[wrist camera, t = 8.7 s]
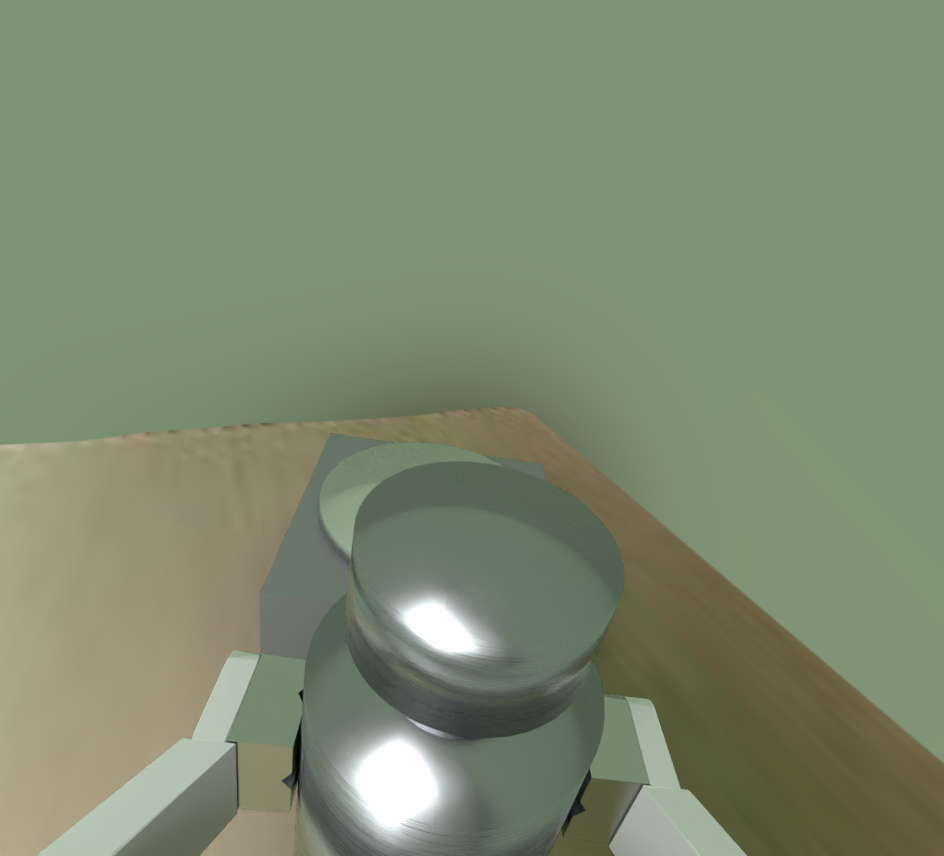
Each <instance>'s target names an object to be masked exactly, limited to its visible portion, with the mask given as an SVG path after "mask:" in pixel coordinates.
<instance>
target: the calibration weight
mask: <svg viewBox="0 0 944 856" xmlns="http://www.w3.org/2000/svg"><path fill="white" fill-rule="evenodd" d="M623 585H624V564H623V561H622V557H621V553H620V551H619V549H618V546H617V544H616V542H615V540H614V539H613V537H612V535H611V534H610V532H609V531H608V529H607V528H606V527H605V526H604V524H603V523H602V522H601V521H600V519H599V518H598V517H597V516H596V515H595V514H594V513H593V512H592V511H591V510H589V509H588V508H587V507H586V506H585V505H583V504H582V503H581V502H580V501H578V500H577V499H575V498H574V497H573V496H571V495H570V494H568V493H567V492H565V491H563V490H561V489H560V488H558V487H556V486H554V485H552V484H550V483H548V482H546V481H544V480H542V479H540V478H537V477H535V476H532V475H530V474H527V473H524V472H521V471H518V470H515V469H511V468H507V467H503V466H498V465H492V464H487V463H478V462H465V461H450V462H437V463H429V464H425V465H420V466H416V467H412V468H409V469H406V470H403V471H401V472H399V473H396V474H394V475H392V476H390V477H389V478H387V479H385V480H384V481H382V482H381V483H380V484H378V485H377V486H376V487H375V488H373V489H372V491H371V492H370V493H369V494H368V495H367V496H366V497H365V499H364V500H363V502H362V504H361V505H360V507H359V510H358V512H357V515H356V518H355V524H354V531H353V540H352V550H351V560H350V570H349V580H348V590H347V593H345V594H344V595H343V596H342V597H341V598H340V599H339V600H338V601H337V602H336V603H335V604H334V605H333V606H332V607H331V608H330V610H329V611H328V612H327V614H326V615H325V616H324V617H323V619H322V620H321V622H320V624H319V626H318V628H317V629H316V631H315V633H314V635H313V638H312V641H311V643H310V646H309V649H308V653H307V658H306V663H305V671H304V689H303V706H302V723H301V740H300V757H299V774H298V791H297V808H296V825H295V843H294V856H548V855H549V853H550V851H551V849H552V847H553V845H554V843H555V840H556V838H557V836H558V834H559V832H560V830H561V828H562V825H563V823H564V821H565V819H566V817H567V815H568V813H569V811H570V808H571V806H572V804H573V802H574V800H575V798H576V796H577V794H578V791H579V789H580V787H581V785H582V783H583V781H584V779H585V777H586V774H587V772H588V770H589V768H590V766H591V764H592V762H593V759H594V757H595V755H596V753H597V751H598V748H599V744H600V741H601V737H602V734H603V727H604V719H605V703H604V693H603V688H602V682H601V679H600V675H599V672H598V669H597V666H596V664H595V661H594V659H595V657H596V655H597V652H598V650H599V647H600V645H601V643H602V640H603V638H604V635H605V633H606V630H607V628H608V626H609V623H610V621H611V618H612V616H613V614H614V611H615V609H616V606H617V604H618V601H619V599H620V596H621V593H622V590H623Z"/></svg>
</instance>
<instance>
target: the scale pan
mask: <svg viewBox="0 0 944 856" xmlns="http://www.w3.org/2000/svg"><path fill="white" fill-rule="evenodd" d="M450 461H465V462H478V463H487V464H492V465H498V466H502V465H500V464H499V463H497V462H495V461H493V460H491V459H489V458H487V457H484V456H482V455H479V454H477V453H474V452H471V451H468V450H464V449H461V448H457V447H453V446H447V445H442V444H434V443H422V442H403V443H392V444H386V445H380V446H376V447H372V448H369V449H366V450H363V451H360V452H358V453H356V454H354V455H352V456H350V457H348V458H346V459H345V460H343V461H342V462H340V463H339V464H338V465H337V466H336V467H334V468H333V469H332V470H331V472H330V473H329V474H328V475H327V477H326V479H325V481H324V482H323V484H322V488H321V491H320V501H319V520H320V525H321V528H322V530H323V533H324V535H325V537H326V539H327V540H328V542H329V543H330V545H331V546H332V547H333V548H334V550H335V551H336V552H337V553H338V554H339V555H340V556H341V557H342V558H343V559H344V560H346V561H347V562H348V563H349V564H350V560H351V550H352V540H353V531H354V524H355V518H356V515H357V512H358V510H359V507H360V505H361V504H362V502H363V500H364V499H365V497H366V496H367V495H368V494H369V493H370V492H371V491H372V489H373V488H375V487H376V486H377V485H378V484H380V483H381V482H382V481H384V480H385V479H387V478H389V477H390V476H392V475H394V474H396V473H399V472H401V471H403V470H406V469H409V468H412V467H416V466H420V465H425V464H429V463H437V462H450ZM503 467H504V466H503Z"/></svg>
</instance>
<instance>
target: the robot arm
mask: <svg viewBox="0 0 944 856" xmlns="http://www.w3.org/2000/svg"><path fill="white" fill-rule="evenodd" d="M305 663H306V660H302V659H295V658H288V657H281V656H274V655H267V654H260V653H252V652H244V651H236V650H234V651H233V652H232V653H231V654H230V656H229V657H228V658H227V660H226V662H225V665H224V667H223V669H222V671H221V674H220V676H219V678H218V680H217V682H216V685H215V687H214V689H213V691H212V694H211V696H210V698H209V700H208V702H207V705H206V707H205V709H204V711H203V714H202V716H201V718H200V720H199V722H198V725H197V727H196V729H195V731H194V734H193V736H192V738H181V739H180V740H179V741H178V742H176V743H175V744H174V745H173V746H171V747H170V748H169V749H168V750H167V751H165V752H164V753H163V754H162V755H160V756H159V757H158V758H157V759H155V760H154V761H153V762H152V763H150V764H149V765H148V766H147V767H146V768H144V769H143V770H142V771H141V772H139V773H138V774H137V775H136V776H134V777H133V778H132V779H131V780H129V781H128V782H127V783H126V784H124V785H123V786H122V787H121V788H120V789H118V790H117V791H116V792H115V793H113V794H112V795H111V796H110V797H108V798H107V799H106V800H105V801H103V802H102V803H101V804H100V805H98V806H97V807H96V808H95V809H94V810H92V811H91V812H90V813H89V814H87V815H86V816H85V817H84V818H82V819H81V820H80V821H79V822H77V823H76V824H75V825H74V826H73V827H71V828H70V829H69V830H68V831H66V832H65V833H64V834H63V835H61V836H60V837H59V838H58V839H56V840H55V841H54V842H53V843H51V844H50V845H49V846H48V847H47V848H45V849H44V850H43V851H42V852H40V853H39V854H38V855H37V856H200V855H201V853H202V852H203V851H204V850H205V849H206V848H207V847H208V846H209V844H210V843H211V842H212V841H213V840H214V839H215V838H216V837H217V835H218V834H219V833H220V832H221V831H222V830H223V829H224V828H225V826H226V825H227V824H228V823H229V822H230V821H231V820H232V819H233V817H234V816H235V815H236V814H237V809H240V810H256V811H272V812H288V813H290V809H291V805H292V801H293V798H294V794H295V790H296V786H297V782H298V774H299V757H300V740H301V723H302V706H303V689H304V671H305ZM604 703H605V719H604V727H603V734H602V737H601V741H600V744H599V748H598V751H597V753H596V755H595V757H594V759H593V762H592V764H591V766H590V768H589V770H588V772H587V774H586V777H585V779H584V781H583V783H582V785H581V787H580V789H579V791H578V794H577V796H576V798H575V800H574V802H573V804H572V806H571V808H570V811H569V813H568V815H567V817H566V819H565V821H564V823H563V825H562V835H563V838H568V839H576V840H584V841H592V842H601V843H609V844H610V845H609V847H610V849H611V851H612V852H613V854H614V855H615V856H747V855H746V854H745V853H744V852H743V850H742V849H741V848H740V847H739V846H738V845H737V844H736V843H735V841H734V840H733V839H732V838H731V837H730V836H729V835H728V833H727V832H726V831H725V830H724V829H723V828H722V827H721V826H720V824H719V823H718V822H717V821H716V820H715V819H714V818H713V816H712V815H711V814H710V813H709V812H708V811H707V810H706V808H705V807H704V806H703V805H702V804H701V803H700V802H699V801H698V799H697V798H696V797H695V796H694V795H693V794H692V793H691V791H690V790H686V789H681V787H680V784H679V781H678V778H677V774H676V771H675V768H674V765H673V762H672V759H671V756H670V753H669V750H668V747H667V744H666V741H665V738H664V735H663V732H662V728H661V725H660V722H659V719H658V716H657V713H656V710H655V707H654V705H653V703H652V702H651V701H650V699H645V698H635V697H625V696H621V695H614V694H604Z"/></svg>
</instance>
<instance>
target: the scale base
mask: <svg viewBox="0 0 944 856" xmlns="http://www.w3.org/2000/svg"><path fill="white" fill-rule="evenodd" d="M392 443H394V442H387V441H380V440H373V439H367V438H360V437H353V436H346V435H339V434H333V433H331V434H330V436H329V438H328V440H327V443H326V445H325V447H324V450H323V452H322V454H321V456H320V459H319V461H318V463H317V465H316V468H315V470H314V472H313V474H312V477H311V479H310V481H309V483H308V486H307V488H306V490H305V492H304V495H303V497H302V499H301V502H300V504H299V506H298V508H297V511H296V513H295V515H294V517H293V520H292V522H291V524H290V526H289V529H288V531H287V533H286V535H285V538H284V540H283V542H282V544H281V547H280V549H279V551H278V554H277V556H276V558H275V560H274V563H273V565H272V567H271V569H270V572H269V574H268V576H267V578H266V581H265V583H264V585H263V587H262V590H261V592H260V642H261V654H267V655H274V656H281V657H288V658H295V659H302V660H306V658H307V653H308V649H309V646H310V643H311V641H312V638H313V635H314V633H315V631H316V629H317V628H318V626H319V624H320V622H321V620H322V619H323V617H324V616H325V615H326V614H327V612H328V611H329V610H330V608H331V607H332V606H333V605H334V604H335V603H336V602H337V601H338V600H339V599H340V598H341V597H342V596H343V595H344V594H345V593H347V590H348V580H349V570H350V564H349V563H348V562H347V561H346V560H344V559H343V558H342V557H341V556H340V555H339V554H338V553H337V552H336V551H335V550H334V548H333V547H332V546H331V545H330V543H329V542H328V540H327V539H326V537H325V535H324V533H323V530H322V528H321V525H320V520H319V501H320V491H321V488H322V484H323V482H324V481H325V479H326V477H327V475H328V474H329V473H330V472H331V470H332V469H333V468H334V467H336V466H337V465H338V464H339V463H340V462H342V461H343V460H345V459H346V458H348V457H350V456H352V455H354V454H356V453H358V452H360V451H363V450H366V449H369V448H372V447H376V446H380V445H386V444H392ZM484 457H487V458H489V459H491V460H493V461H495V462H497V463H499V464H500V465H502V466H504V467H507V468H511V469H515V470H518V471H521V472H524V473H527V474H530V475H532V476H535V477H537V478H540V479H542V480H544V481H546V476H545V472H544V467H543V464H537V463H530V462H523V461H516V460H510V459H503V458H496V457H489V456H484ZM546 482H547V481H546Z"/></svg>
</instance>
